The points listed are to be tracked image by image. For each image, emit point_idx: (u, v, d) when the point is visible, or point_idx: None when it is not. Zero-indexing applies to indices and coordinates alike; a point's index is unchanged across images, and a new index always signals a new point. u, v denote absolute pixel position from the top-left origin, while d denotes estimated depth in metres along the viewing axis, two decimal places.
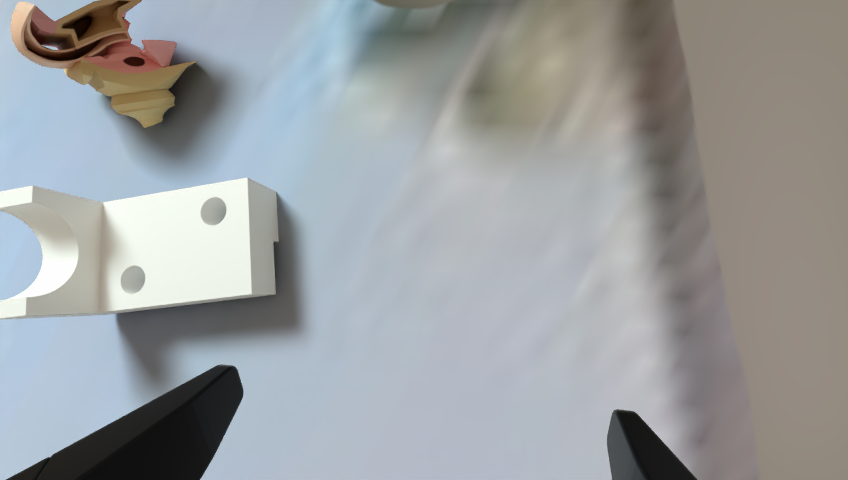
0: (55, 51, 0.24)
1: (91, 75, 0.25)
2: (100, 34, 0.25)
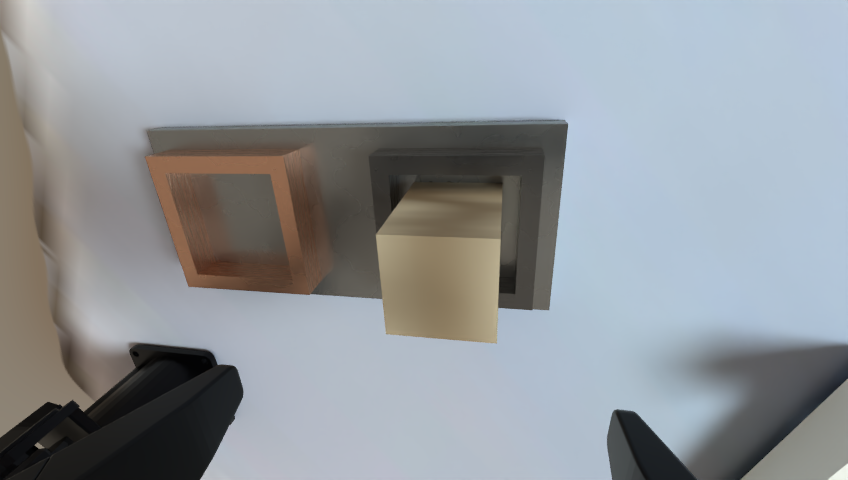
0: None
1: None
2: None
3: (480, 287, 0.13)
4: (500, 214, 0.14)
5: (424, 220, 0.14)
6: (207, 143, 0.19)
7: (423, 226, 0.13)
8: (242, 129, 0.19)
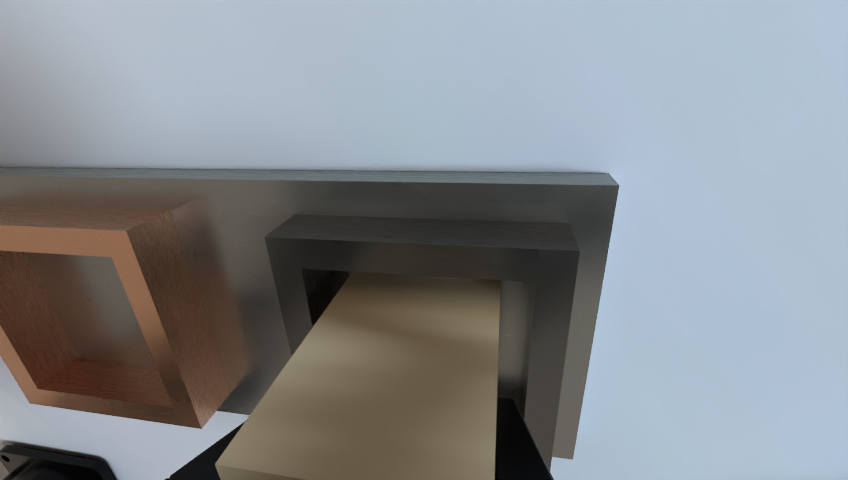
0: None
1: None
2: None
3: None
4: (495, 386, 0.07)
5: (338, 401, 0.07)
6: (32, 197, 0.12)
7: (328, 428, 0.06)
8: (80, 177, 0.12)
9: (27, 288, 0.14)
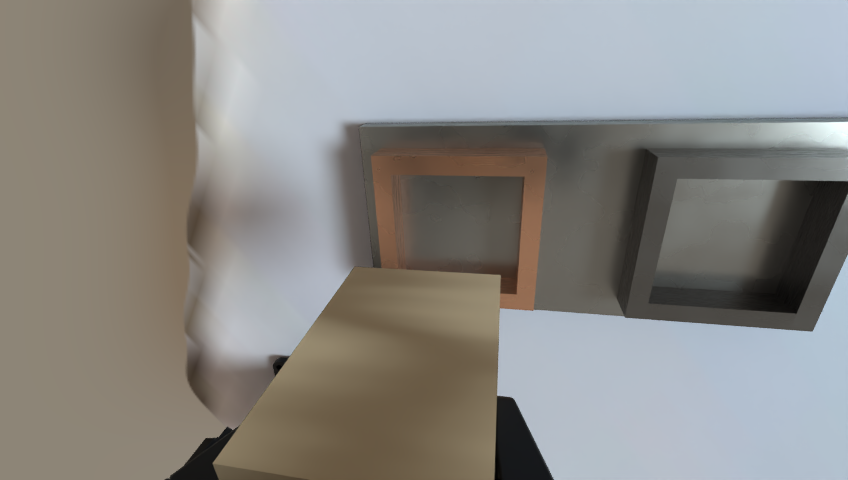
0: None
1: None
2: None
3: None
4: (494, 385, 0.07)
5: (337, 400, 0.07)
6: (430, 141, 0.17)
7: (327, 426, 0.06)
8: (478, 126, 0.17)
9: (400, 211, 0.19)
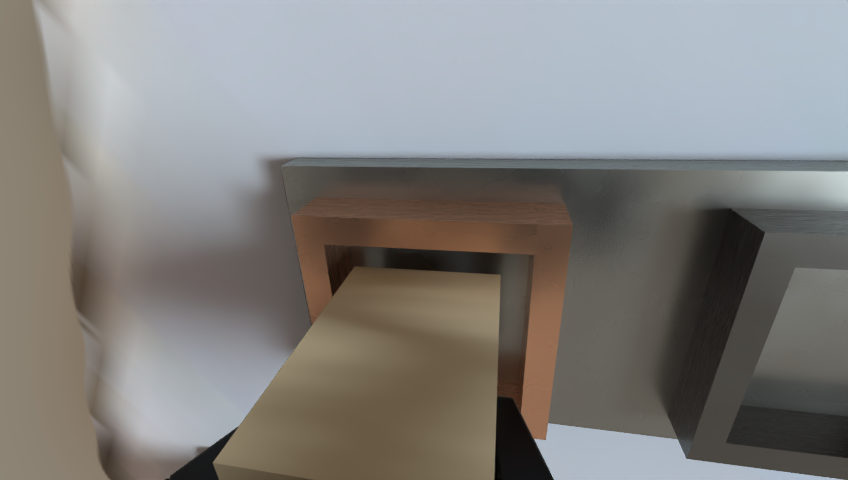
0: None
1: None
2: None
3: None
4: (495, 385, 0.07)
5: (336, 400, 0.07)
6: (388, 189, 0.11)
7: (327, 426, 0.06)
8: (460, 168, 0.11)
9: None
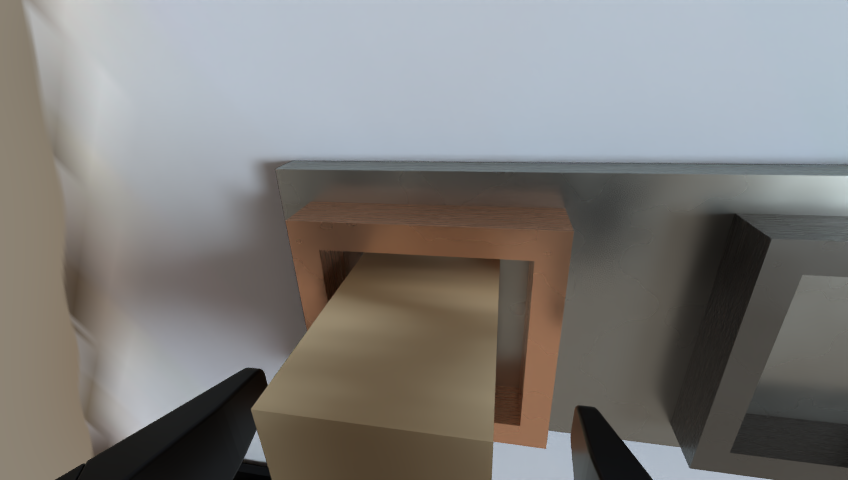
0: None
1: None
2: None
3: None
4: (494, 348, 0.08)
5: (355, 360, 0.08)
6: (385, 193, 0.11)
7: (348, 381, 0.07)
8: (459, 171, 0.10)
9: None
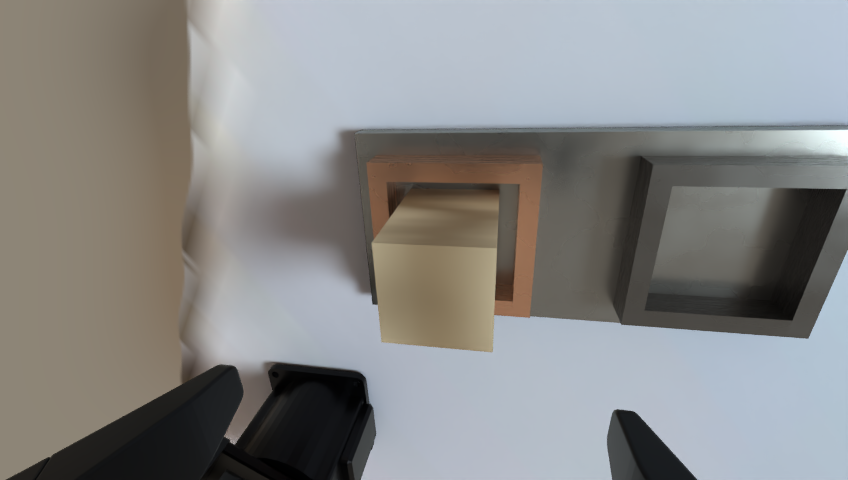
0: None
1: None
2: None
3: (475, 296, 0.13)
4: (496, 222, 0.14)
5: (420, 227, 0.14)
6: (426, 148, 0.17)
7: (419, 234, 0.13)
8: (473, 133, 0.17)
9: None
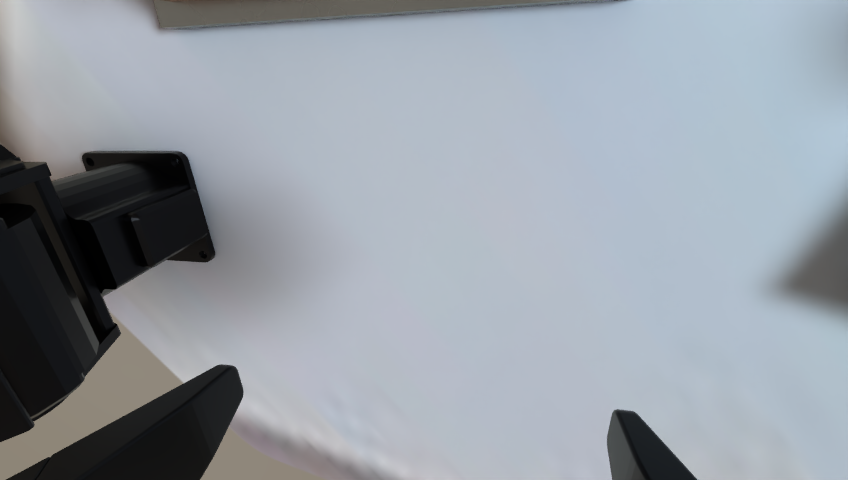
0: None
1: None
2: None
3: None
4: None
5: None
6: None
7: None
8: None
9: None
